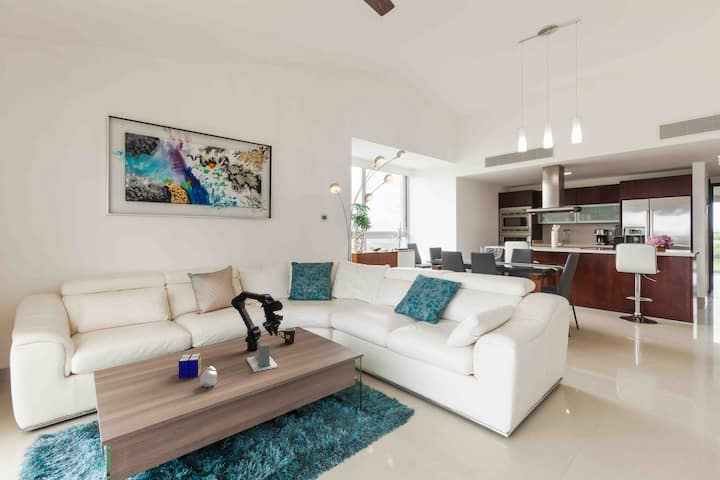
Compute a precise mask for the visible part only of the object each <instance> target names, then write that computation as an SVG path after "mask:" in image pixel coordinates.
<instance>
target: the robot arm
mask: <svg viewBox="0 0 720 480" xmlns="http://www.w3.org/2000/svg"><path fill="white" fill-rule="evenodd" d="M247 299H249V300H252V301H253V300H254V301H257V302H258V303H260V304H261V305H260V308H263V313H264V318H265V321H263V322H262V327H263V328H264V329H265V331H267V333H268V334H269V336H270V337H272V336H273V334H274V336H275V337H278V335H279V327H280V326H281V324H282V322H281V321H283V320H284V315H281V314H277V313H275V312H278V311H279V312H280V311H282V310H283V308H284V305H283V303H282V302H281V301H280V299H277V300H276V299H274V297H273V296H272V295H271V293H256V292H251V291H247V290H244V291H241V292H240V293H239V294H238V295H236V296H235V297H233V298H232V299H231V301H230V304H231V305H232V307H233V309H235V310H236V311H238V314H239V315H240V317H241V319H242V321H243V323H244V325H245V326H246V334H247V336H246V337H245V338H244V340H245V343H247V344H246V348H247V349H246V352H256V351H257V350H259V342H258V340H260V337H261V336H262V331H261V329H260V327H259V325H255V324H254V322H253V320H252V319H251V317H250V315H249V312H248V311H247V308H246V302H245V301H246V300H247Z"/></svg>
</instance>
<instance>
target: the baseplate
mask: <svg viewBox="0 0 720 480" xmlns="http://www.w3.org/2000/svg"><path fill="white" fill-rule="evenodd" d="M246 361H247V362H248V364H249V366H250V367H251V369H252V371H253V372H254V373H257V371H258V372H263V371H267V369H268V370H272V368H273V369H277V367H278V368H279V366H278V364H277V363H276V361H274V358H272V357H271V356H270V366H265V367H261V366H260V365H259V352H257V353H254V356H251V357H246ZM262 370H263V371H262Z"/></svg>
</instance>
